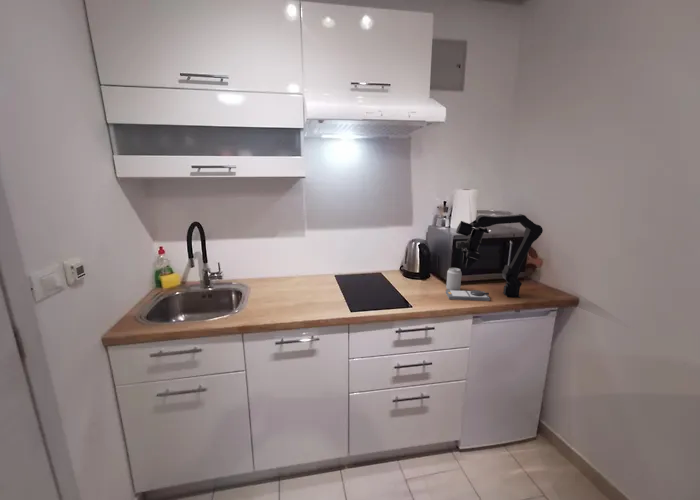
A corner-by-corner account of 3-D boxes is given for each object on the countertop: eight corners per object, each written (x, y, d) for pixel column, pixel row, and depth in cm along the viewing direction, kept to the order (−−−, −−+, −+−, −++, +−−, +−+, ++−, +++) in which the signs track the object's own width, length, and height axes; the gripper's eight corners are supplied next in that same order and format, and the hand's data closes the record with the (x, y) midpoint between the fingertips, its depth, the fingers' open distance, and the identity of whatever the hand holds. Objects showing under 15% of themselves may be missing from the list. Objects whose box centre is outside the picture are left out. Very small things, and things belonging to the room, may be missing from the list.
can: (444, 290, 179) (446, 269, 176) (447, 286, 186) (449, 266, 183) (458, 293, 176) (460, 271, 173) (461, 288, 182) (463, 268, 179)
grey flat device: (485, 294, 174) (485, 289, 174) (491, 301, 164) (491, 296, 164) (445, 292, 176) (445, 287, 176) (449, 299, 167) (449, 294, 166)
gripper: (457, 231, 179) (448, 257, 183) (463, 237, 161) (452, 266, 165) (477, 237, 178) (467, 263, 182) (485, 244, 160) (474, 273, 164)
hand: (464, 266), depth 173 cm, fingers open, 9 cm apart
